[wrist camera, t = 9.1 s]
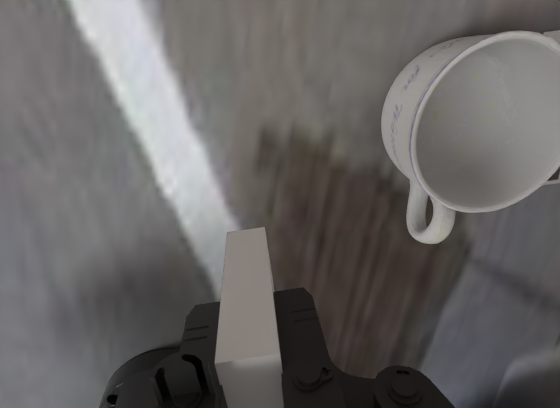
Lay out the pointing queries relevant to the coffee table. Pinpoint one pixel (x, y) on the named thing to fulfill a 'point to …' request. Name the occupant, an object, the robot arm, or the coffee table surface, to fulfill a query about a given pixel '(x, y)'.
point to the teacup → (474, 125)
